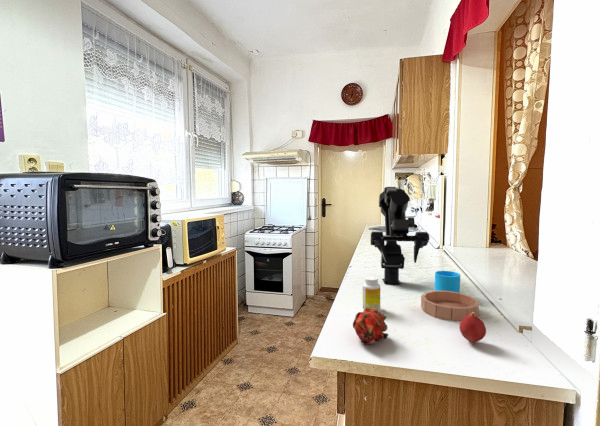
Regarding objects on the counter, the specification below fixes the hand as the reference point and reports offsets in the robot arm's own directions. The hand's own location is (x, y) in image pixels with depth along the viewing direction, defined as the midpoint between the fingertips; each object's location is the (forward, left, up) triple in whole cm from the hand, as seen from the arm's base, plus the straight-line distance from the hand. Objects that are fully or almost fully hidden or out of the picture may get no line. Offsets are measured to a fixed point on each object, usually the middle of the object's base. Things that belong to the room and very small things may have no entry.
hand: (400, 262), depth 104 cm
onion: (+25, +12, -15) cm, 31 cm away
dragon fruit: (+25, -13, -15) cm, 32 cm away
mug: (-12, +19, -15) cm, 27 cm away
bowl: (+4, +14, -15) cm, 21 cm away
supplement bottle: (+4, -10, -15) cm, 18 cm away
